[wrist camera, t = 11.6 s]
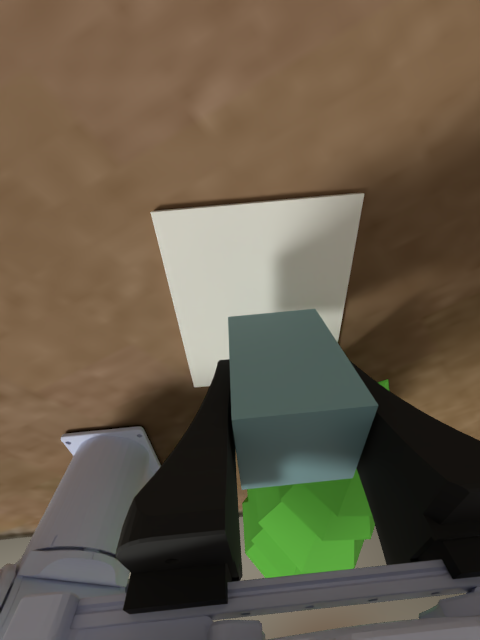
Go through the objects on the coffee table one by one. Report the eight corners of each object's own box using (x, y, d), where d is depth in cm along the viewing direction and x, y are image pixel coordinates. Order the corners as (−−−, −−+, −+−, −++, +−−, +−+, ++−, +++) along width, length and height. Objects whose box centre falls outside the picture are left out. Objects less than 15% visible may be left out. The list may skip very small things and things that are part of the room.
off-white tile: (329, 369, 22) (332, 373, 21) (194, 382, 21) (194, 387, 21) (359, 192, 14) (364, 193, 14) (153, 210, 14) (150, 212, 14)
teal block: (308, 372, 15) (352, 478, 10) (235, 379, 15) (241, 489, 10) (315, 308, 12) (378, 405, 7) (227, 316, 12) (231, 420, 7)
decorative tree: (261, 642, 24) (433, 555, 7) (218, 513, 32) (255, 334, 16) (343, 574, 29) (558, 430, 12) (288, 477, 37) (372, 311, 21)
